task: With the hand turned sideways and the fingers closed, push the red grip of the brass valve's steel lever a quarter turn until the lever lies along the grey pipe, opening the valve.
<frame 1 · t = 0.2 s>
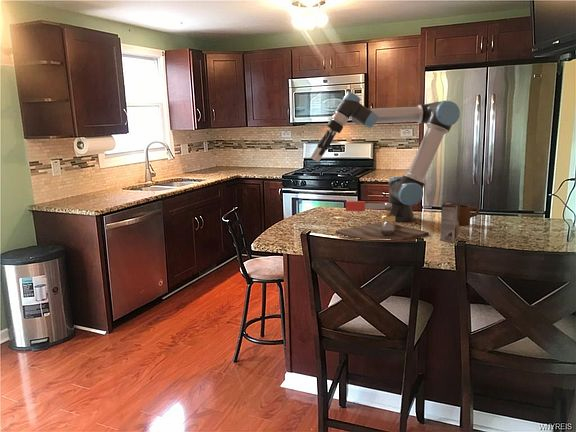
hand: (314, 160, 228), 35 cm above the countertop, tool tilted 35°, fingers open, 13 cm apart
valve pipe: (388, 233, 221), resting on valve board
mug: (466, 225, 233), on the countertop
coffee box: (449, 239, 207), on the countertop
valve board: (381, 234, 219), on the countertop
valve lever: (368, 206, 221), point 13 cm above the countertop, hinge at 0.0°
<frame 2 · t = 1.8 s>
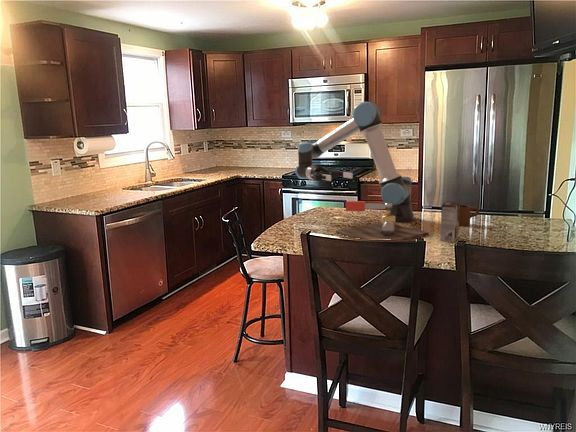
hand: (341, 176, 228), 26 cm above the countertop, tool horizontal, fingers open, 13 cm apart
nothing on the countertop moved.
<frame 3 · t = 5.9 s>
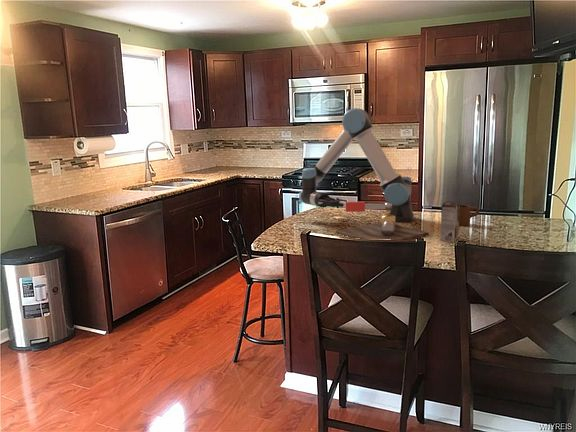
hand: (348, 205, 223), 13 cm above the countertop, tool horizontal, fingers closed
valve lever: (368, 206, 220), point 13 cm above the countertop, hinge at 4.2°
everything else where it was.
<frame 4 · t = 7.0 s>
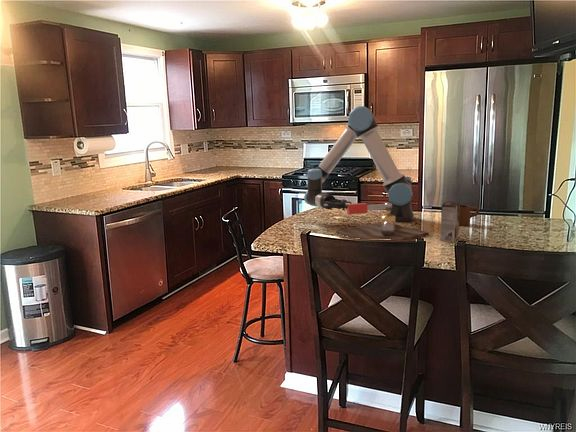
hand: (355, 207, 218), 13 cm above the countertop, tool horizontal, fingers closed
valve lever: (370, 207, 217), point 13 cm above the countertop, hinge at 23.3°
everything else where it was.
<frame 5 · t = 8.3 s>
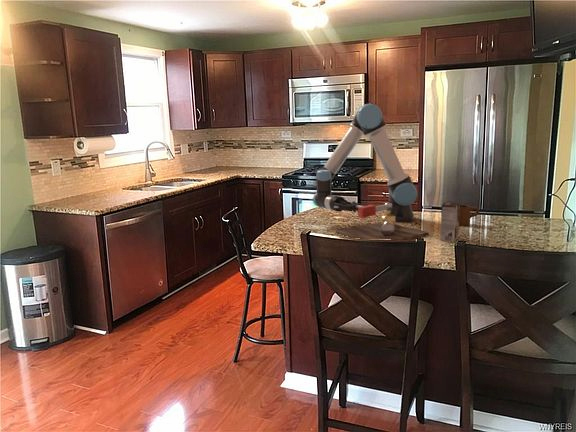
hand: (366, 210, 211), 13 cm above the countertop, tool horizontal, fingers closed
valve lever: (375, 209, 213), point 13 cm above the countertop, hinge at 52.6°, touching gripper
everything else where it was.
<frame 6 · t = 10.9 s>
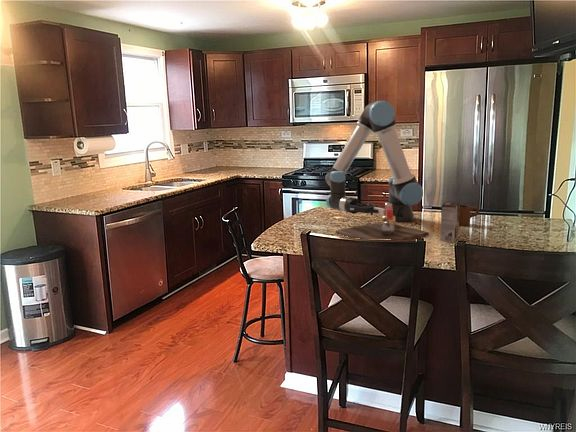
hand: (384, 212, 205), 13 cm above the countertop, tool horizontal, fingers closed
valve lever: (389, 210, 210), point 13 cm above the countertop, hinge at 92.0°, touching gripper
everything else where it was.
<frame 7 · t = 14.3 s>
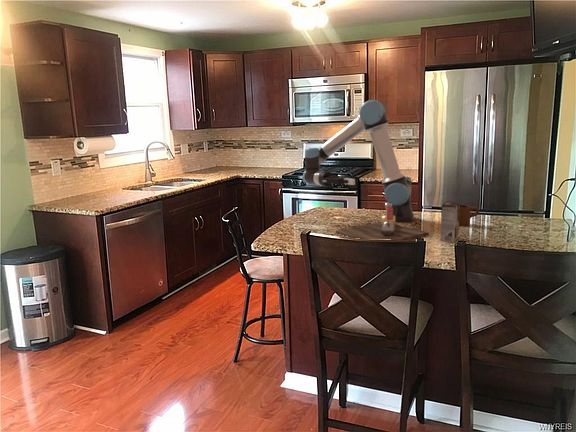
hand: (353, 182, 220), 25 cm above the countertop, tool horizontal, fingers closed
valve lever: (389, 210, 210), point 13 cm above the countertop, hinge at 92.2°
everything else where it was.
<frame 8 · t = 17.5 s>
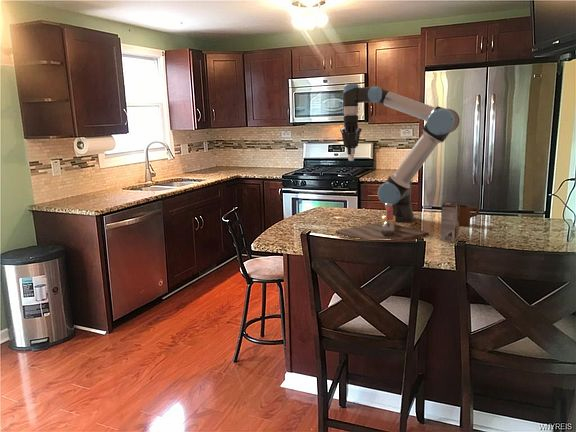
hand: (351, 160, 245), 32 cm above the countertop, tool pointing down, fingers closed
nothing on the countertop moved.
at the end: valve lever at +92° (first picture: +0°); coffee box moved 0.2 cm from its start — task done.
